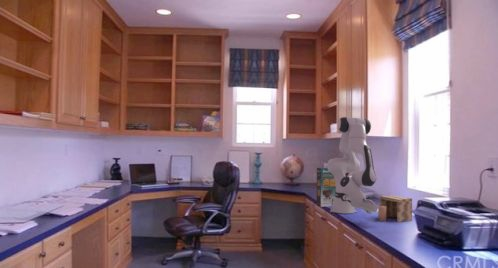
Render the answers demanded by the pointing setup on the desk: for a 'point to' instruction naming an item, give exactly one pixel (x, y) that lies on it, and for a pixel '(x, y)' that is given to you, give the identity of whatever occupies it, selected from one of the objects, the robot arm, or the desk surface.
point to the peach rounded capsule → (382, 213)
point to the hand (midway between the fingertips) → (369, 212)
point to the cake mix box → (325, 187)
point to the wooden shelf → (397, 207)
